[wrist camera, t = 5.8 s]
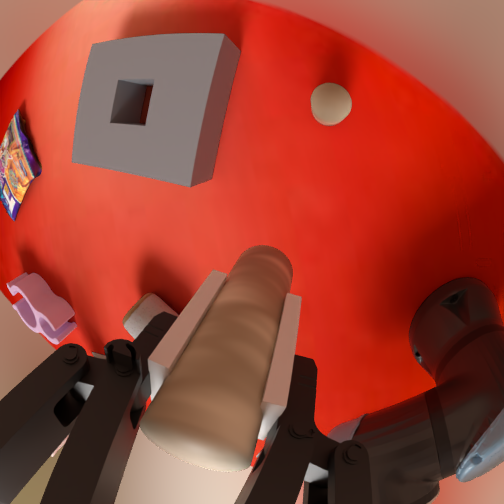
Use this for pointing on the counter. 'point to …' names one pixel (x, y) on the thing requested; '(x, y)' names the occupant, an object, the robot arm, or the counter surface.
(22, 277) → the clip
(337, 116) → the short pin
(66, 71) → the counter surface
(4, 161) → the food package
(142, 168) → the hole block
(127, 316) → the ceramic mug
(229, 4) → the counter surface
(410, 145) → the counter surface
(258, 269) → the long pin
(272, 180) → the counter surface
